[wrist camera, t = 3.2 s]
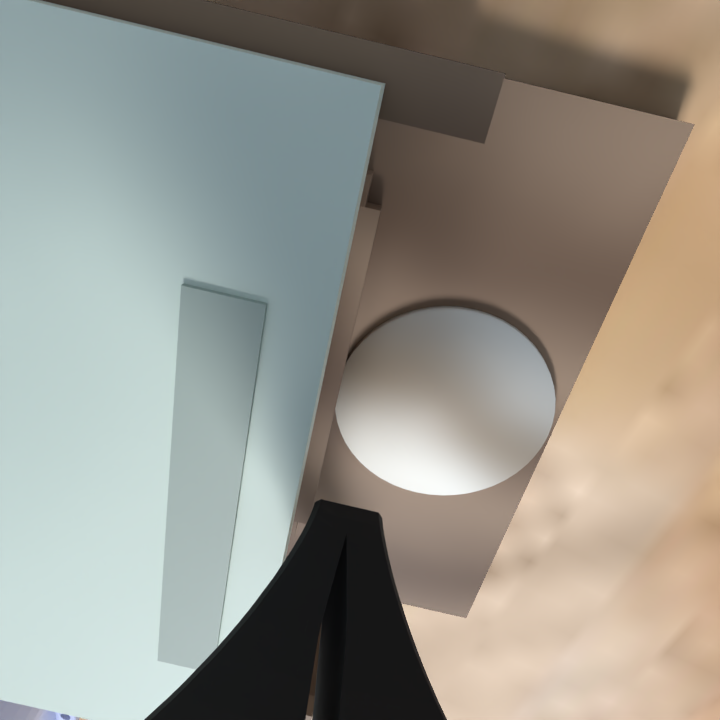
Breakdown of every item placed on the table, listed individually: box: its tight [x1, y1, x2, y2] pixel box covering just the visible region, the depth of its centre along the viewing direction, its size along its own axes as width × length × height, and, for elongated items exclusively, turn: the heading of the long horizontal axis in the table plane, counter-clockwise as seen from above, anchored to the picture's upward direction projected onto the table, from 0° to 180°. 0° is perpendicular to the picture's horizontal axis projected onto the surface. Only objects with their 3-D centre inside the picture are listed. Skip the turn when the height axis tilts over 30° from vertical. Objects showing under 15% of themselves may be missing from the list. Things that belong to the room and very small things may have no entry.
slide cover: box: [0, 0, 385, 720], centre depth 12 cm, size 17×10×1 cm, turn 168°
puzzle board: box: [42, 0, 694, 720], centre depth 15 cm, size 18×30×6 cm, turn 78°
